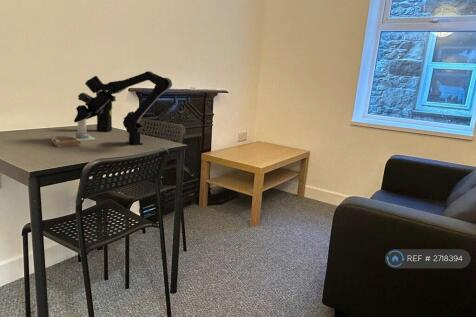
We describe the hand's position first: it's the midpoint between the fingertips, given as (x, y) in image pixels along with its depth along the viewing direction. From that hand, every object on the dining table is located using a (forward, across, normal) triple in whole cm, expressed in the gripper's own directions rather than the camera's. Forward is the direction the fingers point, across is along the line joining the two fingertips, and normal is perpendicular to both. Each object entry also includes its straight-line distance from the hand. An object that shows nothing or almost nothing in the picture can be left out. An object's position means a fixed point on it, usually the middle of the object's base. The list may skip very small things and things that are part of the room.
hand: (79, 120), depth 174 cm
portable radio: (+5, -25, +8) cm, 27 cm away
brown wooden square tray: (+6, +14, +7) cm, 17 cm away
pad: (+6, 0, +8) cm, 9 cm away
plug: (+5, 0, +7) cm, 9 cm away
